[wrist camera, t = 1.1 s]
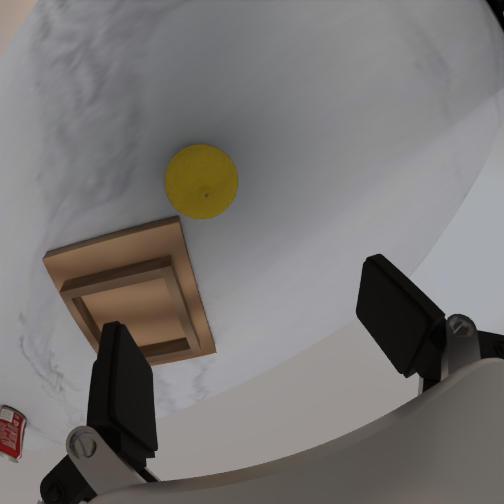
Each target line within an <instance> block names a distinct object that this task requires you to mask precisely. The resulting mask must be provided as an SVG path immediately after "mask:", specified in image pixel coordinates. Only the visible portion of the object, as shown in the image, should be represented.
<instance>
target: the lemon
mask: <svg viewBox="0 0 504 504" xmlns="http://www.w3.org/2000/svg"><path fill="white" fill-rule="evenodd" d="M164 187H165V191H166V195H167V197H168V199H169V200H170V202H171V204H172V205H173V206H174V207H175V208H176V209H177V210H178V211H179V212H180V213H182V214H184V215H185V216H188V217H191V218H194V219H207V218H212V217H214V216H217V215H219V214H220V213H222V212H223V211H225V210H226V209H227V208H228V207H229V205H230V204H231V203H232V201H233V199H234V197H235V195H236V191H237V187H238V175H237V172H236V168H235V165H234V164H233V162H232V160H231V159H230V157H229V156H228V155H227V154H226V153H225V152H224V151H222V150H221V149H219V148H217V147H215V146H212V145H207V144H195V145H191V146H187V147H186V148H184V149H182V150H180V151H179V152H178V153H177V154H176V155H175V156H174V157H173V158H172V159H171V161H170V162H169V164H168V166H167V169H166V172H165V177H164Z"/></svg>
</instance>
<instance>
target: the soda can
mask: <svg viewBox="0 0 504 504" xmlns="http://www.w3.org/2000/svg"><path fill="white" fill-rule="evenodd" d="M25 428H26V419H25V418H24V417H23V416H22V415H21V414H20V413H19V412H18V411H16V410H14V409H12V408H9V407H2V408H1V411H0V456H2V457H4V458H5V459H7V460H9V461H12V462H15V463H18V460H19V459H20V458H21V456H22V449H23V441H24V434H25Z"/></svg>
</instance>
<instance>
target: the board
mask: <svg viewBox="0 0 504 504" xmlns="http://www.w3.org/2000/svg"><path fill="white" fill-rule="evenodd" d="M42 260H43V262H44V265H45V267H46V269H47V271H48V273H49V275H50V277H51V279H52V281H53V283H54V285H55V287H56V288H57V290H58V292H59V294H60V296H61V298H62V299H63V301H64V303H65V305H66V306H67V308H68V310H69V312H70V313H71V315H72V317H73V318H74V320H75V322H76V323H77V325H78V326H79V328H80V329H81V331H82V333H83V334H84V336H85V337H86V339H87V340H88V342H89V343H90V345H91V346H92V348H93V349H94V350H95V352H96V353H97V355H98V350H99V344H100V338H101V333H102V328H103V324H104V323H109V322H114V321H119V322H120V323H121V324H125V325H126V327H127V329H128V330H129V332H130V334H131V336H132V337H133V339H134V341H135V342H136V344H137V346H138V347H139V349H140V351H141V352H142V354H143V355H144V357H145V359H146V360H147V362H148V363H149V365H150V366H154V365H159V364H165V363H170V362H175V361H180V360H185V359H190V358H195V357H199V356H204V355H208V354H213V353H217V352H216V348H215V344H214V340H213V337H212V334H211V331H210V328H209V325H208V321H207V318H206V315H205V312H204V308H203V305H202V301H201V298H200V295H199V291H198V288H197V284H196V281H195V277H194V273H193V270H192V266H191V262H190V259H189V255H188V251H187V247H186V243H185V239H184V235H183V231H182V227H181V223H180V219H179V216H177V217H173V218H169V219H165V220H160V221H156V222H152V223H148V224H144V225H140V226H137V227H133V228H129V229H125V230H121V231H118V232H114V233H110V234H107V235H103V236H99V237H96V238H92V239H89V240H85V241H82V242H79V243H75V244H72V245H68V246H65V247H62V248H59V249H55V250H52V251H49V252H47V253H46V254H45V256H44V257H43V259H42Z"/></svg>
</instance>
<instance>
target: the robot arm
mask: <svg viewBox="0 0 504 504" xmlns="http://www.w3.org/2000/svg"><path fill="white" fill-rule="evenodd" d="M356 315H357V317H358V319H359V320H360V321H361V323H362V324H363V325H364V326H365V328H366V329H367V330H368V332H369V333H370V334H371V336H372V337H373V338H374V339H375V341H376V342H377V344H378V345H379V346H380V348H381V349H382V351H383V352H384V353H385V355H386V356H387V357H388V359H389V360H390V361H391V363H392V364H393V365H394V367H395V368H396V370H397V371H398V372H399V373H400V374H403V375H404V376H405V378H408V377H410V376H412V375H413V374H415V373H416V372H417V373H418V374H419V376H420V377H419V388H418V396H417V397H416V398H414V399H412V400H411V401H409V402H407V403H406V404H404V405H402V406H401V407H399V408H397V409H396V410H394V411H392V412H390V413H388V414H386V415H384V416H383V417H381V418H379V419H377V420H375V421H373V422H371V423H369V424H367V425H365V426H363V427H361V428H358V429H356V430H354V431H352V432H350V433H348V434H345V435H343V436H341V437H339V438H336V439H334V440H331V441H329V442H326V443H324V444H322V445H319V446H316V447H314V448H311V449H308V450H305V451H302V452H299V453H296V454H294V455H290V456H287V457H284V458H281V459H277V460H274V461H271V462H267V463H263V464H259V465H255V466H252V467H248V468H243V469H239V470H235V471H229V472H224V473H219V474H213V475H207V476H201V477H194V478H187V479H179V480H170V481H161V480H160V479H159V478H158V477H156V476H155V475H154V474H153V473H152V472H151V471H150V470H149V469H148V468H147V467H146V458H155V452H154V451H157V449H158V443H157V433H156V423H155V408H154V391H153V373H152V369H151V367H150V365H149V363H148V362H147V360H146V359H145V357H144V355H143V354H142V352H141V351H140V349H139V347H138V346H137V344H136V342H135V341H134V339H133V337H132V336H131V334H130V332H129V330H128V329H127V327H126V325H125V324H121V323H120V322H119V321H114V322H109V323H104V324H103V328H102V333H101V338H100V344H99V350H98V356H97V360H96V361H95V362H94V364H93V369H92V376H91V383H90V391H89V401H88V412H87V425H86V426H79V427H76V428H75V429H73V430H72V431H71V432H70V433H69V435H68V437H67V440H66V450H67V453H68V454H67V455H66V456H65V457H64V458H63V459H62V460H61V461H60V462H59V463H58V464H57V465H56V466H55V467H54V468H53V469H52V471H50V473H49V474H47V475H46V477H45V478H44V479H43V480H42V482H41V485H40V493H41V497H42V499H43V500H42V501H38V503H37V504H504V335H500V334H495V333H489V332H484V331H478V330H477V329H476V326H475V324H474V322H473V321H472V320H471V319H470V318H469V317H467V316H465V315H462V314H453V315H451V316H450V317H448V319H447V320H446V319H445V318H444V317H445V313H444V312H443V311H442V310H441V309H439V308H438V306H437V305H436V304H435V303H433V301H431V299H429V298H428V297H427V296H426V295H425V294H424V293H423V292H422V291H421V290H420V289H419V288H418V287H417V286H416V285H415V284H414V283H413V282H412V281H411V280H410V279H408V278H407V277H406V276H405V275H404V274H403V273H402V272H401V271H400V270H399V269H398V268H396V267H395V266H394V265H393V264H392V263H391V262H390V261H389V260H387V259H386V258H385V257H384V256H383V255H382V254H376V255H373V256H370V257H367V258H366V261H365V262H364V263H363V268H362V275H361V282H360V288H359V295H358V301H357V306H356Z"/></svg>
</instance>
